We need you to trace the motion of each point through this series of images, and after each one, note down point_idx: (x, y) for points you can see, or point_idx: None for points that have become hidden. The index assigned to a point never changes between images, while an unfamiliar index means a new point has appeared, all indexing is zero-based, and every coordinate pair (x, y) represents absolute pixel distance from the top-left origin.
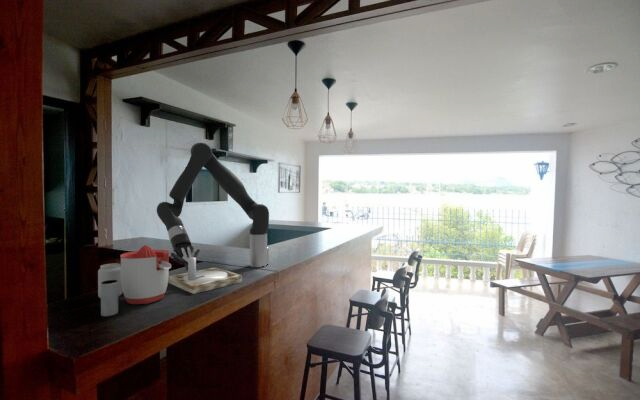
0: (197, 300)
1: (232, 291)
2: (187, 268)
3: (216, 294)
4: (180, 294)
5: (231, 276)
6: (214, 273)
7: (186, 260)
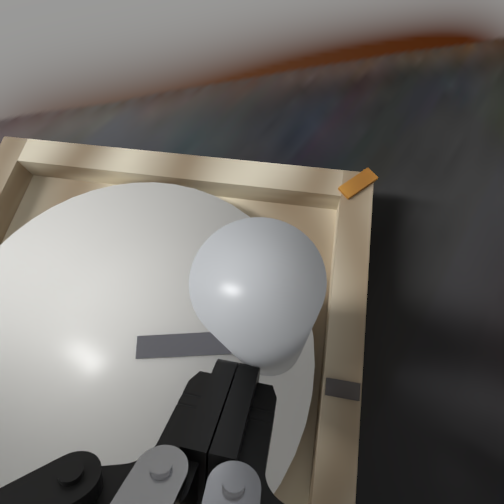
0: (402, 105)
1: (202, 87)
2: (275, 406)
3: (282, 107)
4: (420, 259)
5: (2, 232)
6: (23, 346)
7: (243, 492)
